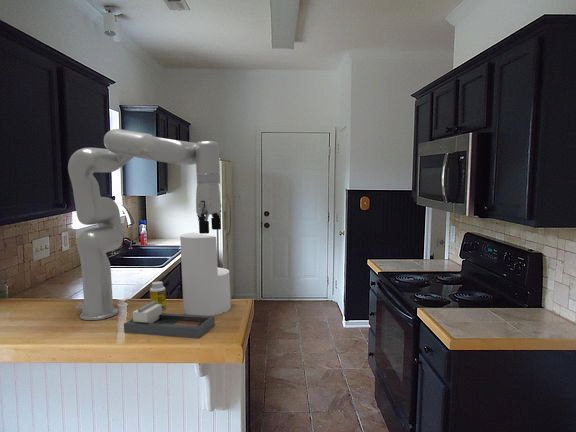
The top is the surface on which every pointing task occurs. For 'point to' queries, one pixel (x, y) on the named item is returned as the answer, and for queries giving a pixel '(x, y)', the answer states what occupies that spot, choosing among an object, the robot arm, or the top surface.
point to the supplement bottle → (158, 294)
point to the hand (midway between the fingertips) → (210, 231)
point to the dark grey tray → (173, 325)
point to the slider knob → (148, 313)
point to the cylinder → (203, 276)
